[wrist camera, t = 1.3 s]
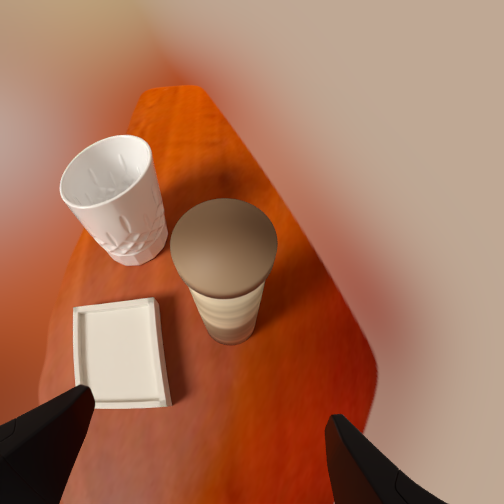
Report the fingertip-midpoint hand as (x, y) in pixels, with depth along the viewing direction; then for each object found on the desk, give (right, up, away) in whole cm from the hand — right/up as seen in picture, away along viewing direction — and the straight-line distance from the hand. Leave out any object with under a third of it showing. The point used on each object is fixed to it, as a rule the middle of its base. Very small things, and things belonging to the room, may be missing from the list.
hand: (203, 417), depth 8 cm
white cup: (-10, +7, +19) cm, 22 cm away
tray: (-10, -3, +12) cm, 16 cm away
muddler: (0, 0, +15) cm, 15 cm away
